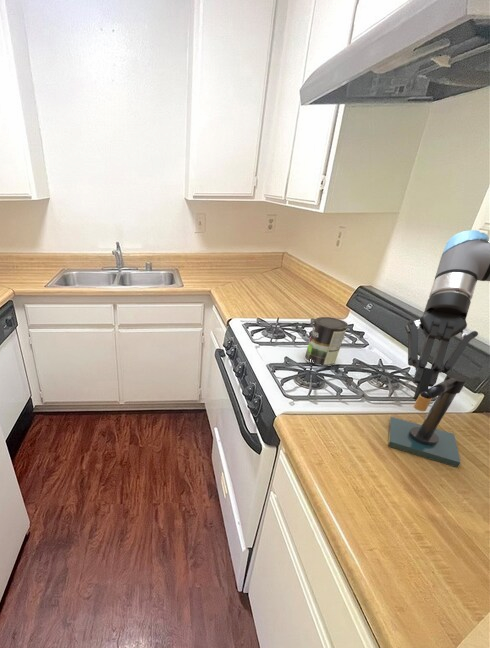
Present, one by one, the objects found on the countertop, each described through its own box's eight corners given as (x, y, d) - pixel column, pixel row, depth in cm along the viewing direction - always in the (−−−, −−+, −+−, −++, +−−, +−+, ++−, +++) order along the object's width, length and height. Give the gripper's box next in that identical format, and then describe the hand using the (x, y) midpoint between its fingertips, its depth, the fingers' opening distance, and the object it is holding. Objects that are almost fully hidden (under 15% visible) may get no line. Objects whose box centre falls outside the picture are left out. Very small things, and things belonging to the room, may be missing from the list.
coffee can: (306, 365, 118) (318, 326, 110) (302, 353, 126) (312, 315, 119) (338, 368, 117) (352, 329, 109) (331, 355, 125) (343, 318, 117)
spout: (443, 386, 79) (451, 371, 77) (461, 394, 77) (470, 378, 74) (407, 405, 72) (416, 389, 70) (426, 414, 70) (435, 397, 67)
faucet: (451, 438, 87) (483, 387, 78) (457, 467, 78) (494, 413, 70) (388, 420, 92) (412, 371, 84) (387, 446, 83) (414, 393, 75)
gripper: (477, 313, 77) (448, 411, 74) (409, 303, 82) (380, 394, 79) (495, 295, 70) (464, 403, 67) (420, 285, 75) (388, 384, 73)
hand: (419, 398), depth 73 cm, fingers closed
